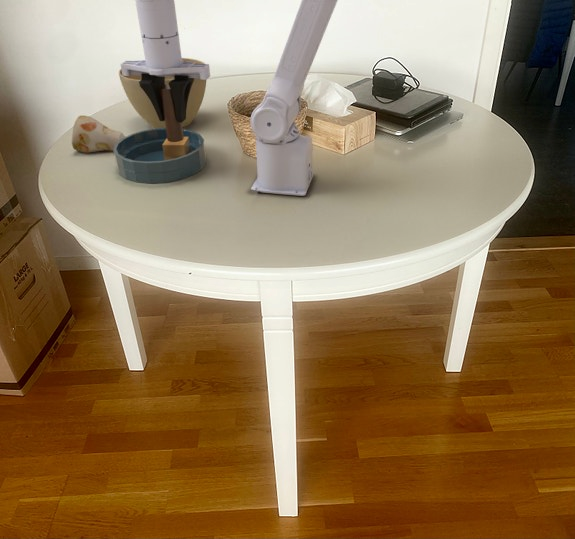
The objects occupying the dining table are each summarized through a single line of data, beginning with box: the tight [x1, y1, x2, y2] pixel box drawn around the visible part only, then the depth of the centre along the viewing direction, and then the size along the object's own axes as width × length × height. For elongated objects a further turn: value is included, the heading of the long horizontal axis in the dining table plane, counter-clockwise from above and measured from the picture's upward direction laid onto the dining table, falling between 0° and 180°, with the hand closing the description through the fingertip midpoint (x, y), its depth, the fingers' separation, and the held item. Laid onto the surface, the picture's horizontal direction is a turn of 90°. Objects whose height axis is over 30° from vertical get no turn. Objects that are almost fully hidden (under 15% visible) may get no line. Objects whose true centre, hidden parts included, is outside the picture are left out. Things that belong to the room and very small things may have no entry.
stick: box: [159, 84, 184, 142], centre depth 89 cm, size 3×3×9 cm
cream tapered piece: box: [71, 115, 126, 154], centre depth 104 cm, size 8×10×10 cm
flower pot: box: [118, 57, 207, 129], centre depth 114 cm, size 18×18×12 cm
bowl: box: [112, 128, 207, 184], centre depth 98 cm, size 16×16×4 cm
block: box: [163, 137, 191, 160], centre depth 99 cm, size 4×4×4 cm
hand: (172, 119), depth 90 cm, fingers closed on stick, 3 cm apart
